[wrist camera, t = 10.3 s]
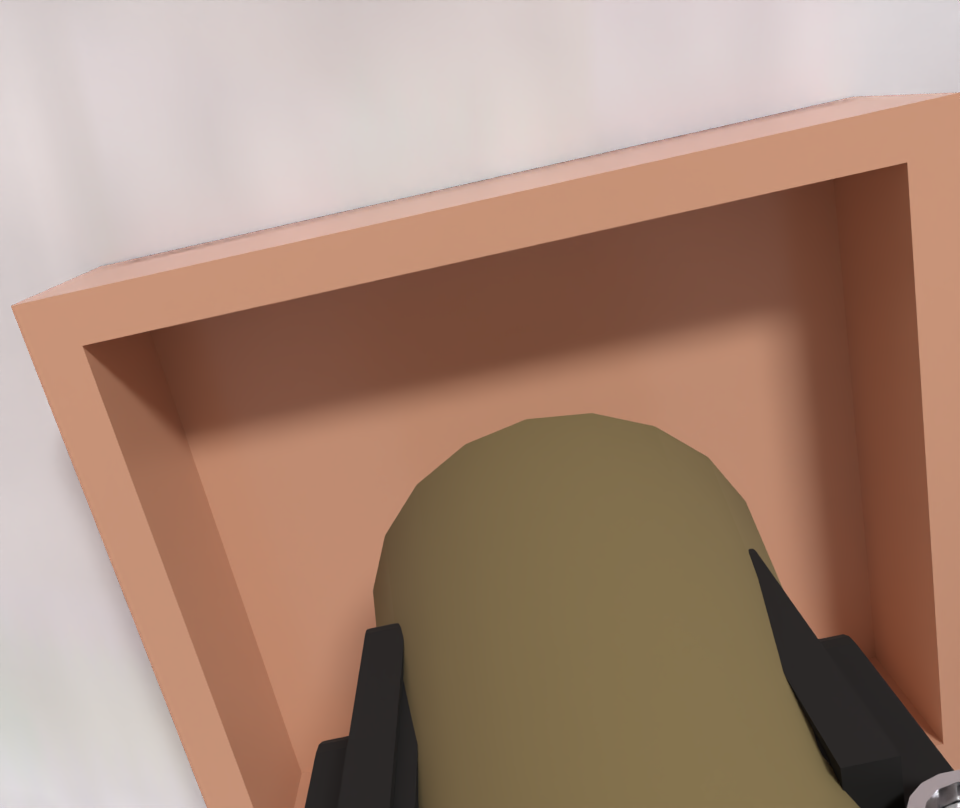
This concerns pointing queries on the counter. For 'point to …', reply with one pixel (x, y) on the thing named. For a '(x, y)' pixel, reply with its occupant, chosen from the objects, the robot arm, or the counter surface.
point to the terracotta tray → (526, 399)
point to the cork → (592, 629)
